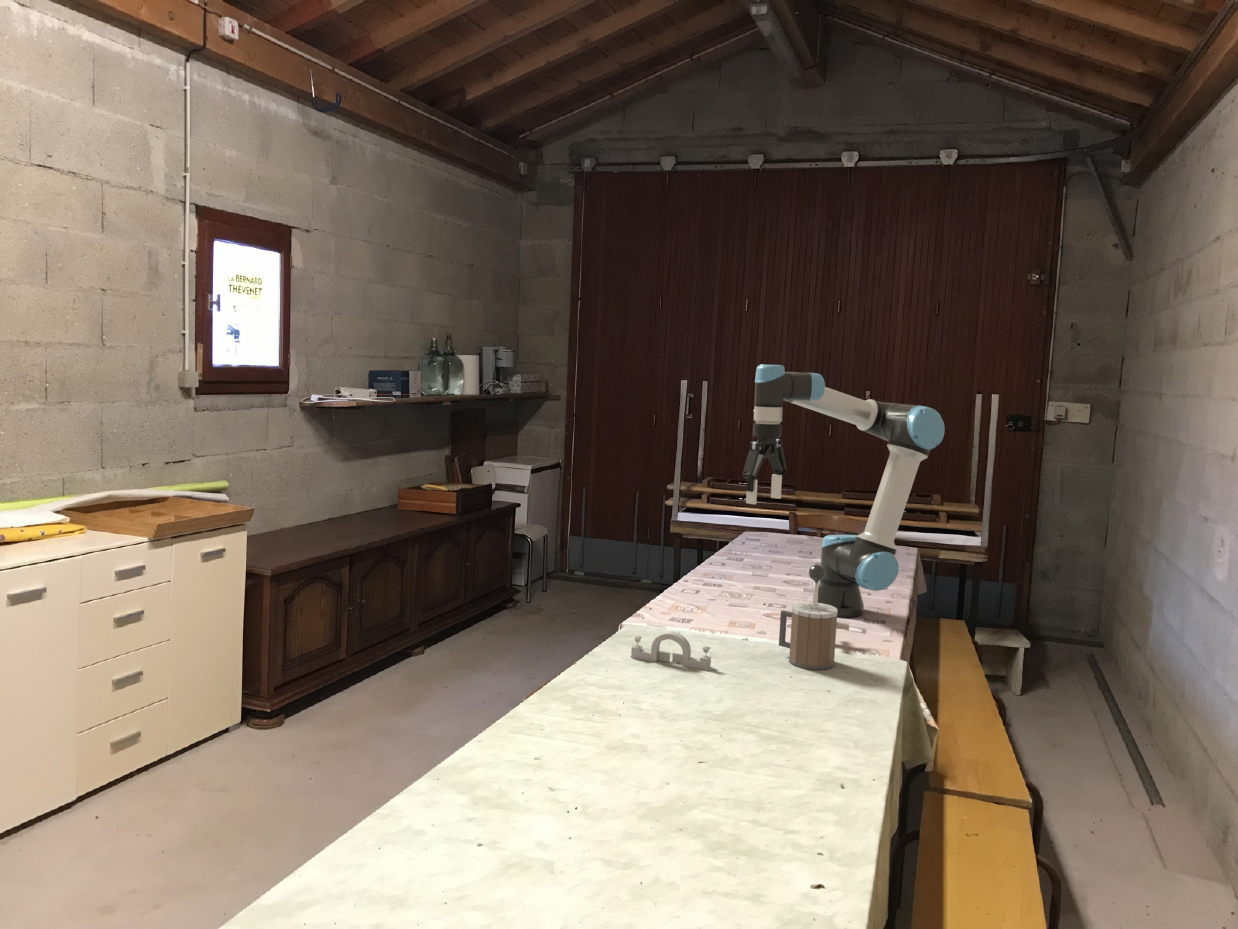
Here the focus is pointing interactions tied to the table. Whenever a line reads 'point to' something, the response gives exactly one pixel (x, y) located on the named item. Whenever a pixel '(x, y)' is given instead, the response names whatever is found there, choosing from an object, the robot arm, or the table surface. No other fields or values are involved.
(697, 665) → the gateway
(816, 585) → the plunger
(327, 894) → the table surface
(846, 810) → the table surface
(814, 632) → the wooden mug
